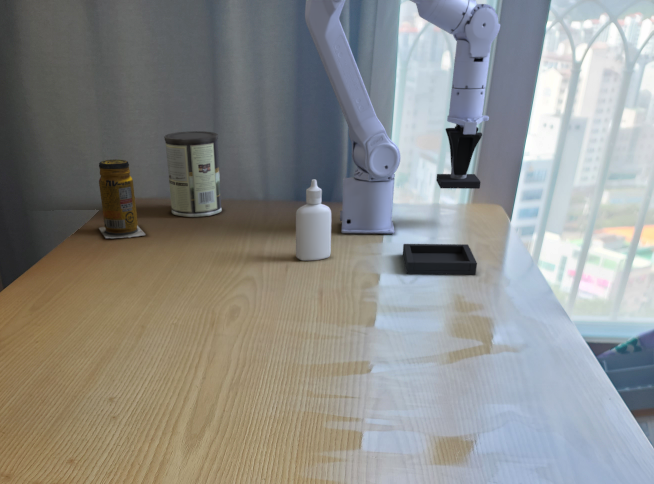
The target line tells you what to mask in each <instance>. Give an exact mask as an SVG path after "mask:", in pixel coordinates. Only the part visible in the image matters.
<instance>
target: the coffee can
mask: <svg viewBox="0 0 654 484" xmlns="http://www.w3.org/2000/svg"><path fill="white" fill-rule="evenodd" d="M163 137H164V138H163V139H164V141H165V152H166V162H167V173H168V183H169V194H170V204H171V214H172V215H175V216H177V217H183V218H203V217H210V216H214V215H217V214H219V213H222V211H223V208H222V195H221V181H220V180H221V179H220V178H221V177H220V162H219V161H220V159H219V143H218V142H219V141H218V139H219V134H218V133H217V132H212V131H204V130H203V131H199V130H194V131H193V130H192V131H191V130H190V131H177V132H172V133H168V134H165V135H164V136H163Z"/></svg>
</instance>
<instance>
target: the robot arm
mask: <svg viewBox="0 0 654 484" xmlns="http://www.w3.org/2000/svg"><path fill="white" fill-rule="evenodd" d="M346 1H347V0H305V8H304V20H305V24H306V27H307V30H308V32H309V34H310V37H311V39H312V41H313V43H314V46H315V48H316V51H317V53H318V56H319V58H320V61H321V63H322V66H323V68H324V71H325V73H326V75H327V78H328V80H329V82H330V85H331V88H332V90H333V93H334V95H335V97H336V101H337V102H338V105H339V107H340V110H341V112H342V115H343V117H344V119H345V122H346V124H347V127H348V138H349V139H350V142H351V157H352V161H353V163H354V165H355V166H356V169H355V171H354V172H353V176H352V177H343V179H342V202H341V203H342V204H341V205H342V209H341V210H340V211H339V221H340V222H341V233H342V234H388V235H390V234H394V233H395V227H394V221H393V206H394V194H395V193H394V191H395V177H396V174H395V173H396V172H397V170H398V169H399V166H400V163H401V151H400V148H399V147H398V145H397V144H396V143H395V142H394V141H393V140H391V138H390V137H389V135H388V133H387V131H386V129H385V127H384V125H383V124H382V122H381V121H380V119H379V118H378V116H377V112H376V111H375V109H374V106H373V104H372V100H371V98H370V95H369V93H368V91H367V87H366V85H365V82H364V80H363V78H362V75H361V73H360V70H359V67H358V65H357V62H356V60H355V57H354V54H353V52H352V49H351V46H350V43H349V41H348V38H347V36H346V33H345V30H344V28H343V26H342V23H341V21H340V17H341V14H342V11H343V8H344V6H345V3H346ZM409 1H410V2H413V3H414V4H415V6H416V9H417V14H418V16H419V17H420V18H422V19H423V20H425V21H426V22H428V23H430V24H431V25H433V26H436V27H437V28H439V29H441V30H443V31H444V32H446V33H448V34H449V35H452V37H453V38H454V40H455V41H456V44H455V45H456V46H455V55H454V62H453V72H452V81H451V91H450V98H449V99H450V100H449V109H448V115H447V119H446V121H447V123H451V124H455V126H454V127H446V128H445V129H444V130H445V133H446V135H447V139H448V143H449V144H448V145H449V153H450V168H452V159H453V170H454V175H466V173H467V174H468V171H469V167H470V165H471V164H470V163H471V161H472V157H473V155H474V151H475V149H476V148H477V145H478V144H479V142H480V141H481V139H482V137H483V132H479V129H480V128H479V127H478V125H479V124H481V123H483V122H489V121H490V120H489V119H490V116H489V115H483V111H484V104H485V98H486V97H485V96H486V88H487V82H488V74H489V65H490V59H491V57H490V56H491V49H492V43H493V42H494V41H495V39H496V38H497V37H498V34H499V32H500V29H501V23H499V16H498V13H496V12H497V10H496V9H495V8H494V6H492V5H490V4H488V3H477V0H409Z"/></svg>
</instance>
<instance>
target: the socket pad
mask: <svg viewBox="0 0 654 484" xmlns="http://www.w3.org/2000/svg"><path fill="white" fill-rule="evenodd" d="M402 258H403V263H404V269H405V274H406V275H459V276H460V275H462V276H463V275H465V276H466V275H467V276H470V275H471V276H476V273H477V267H478V262H477V260H476V258H475V256H474V253H473V252H472V250H471V248H470V246H469V244H465V243H462V244H461V243H457V244H455V243H452V244H451V243H403V245H402Z"/></svg>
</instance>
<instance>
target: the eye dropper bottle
mask: <svg viewBox="0 0 654 484" xmlns="http://www.w3.org/2000/svg"><path fill="white" fill-rule="evenodd" d="M322 195H323V190H322V188H320V187H319V186H318V180H317V179H311V182H310V186H309V187H308V188H306V191H305V203H306V204H304V205H301V206H300V207H298V209H297V210H296V212H295V257H296V258H297V259H298V260H300V261H302V262H303V261H305V262H308V261H311V262H312V261H319V260H325V259H327V258H330V256H331V250H332V247H331V246H332V210H331V208H330V207H329V206H328V205H326V204H323V203H322Z"/></svg>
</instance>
